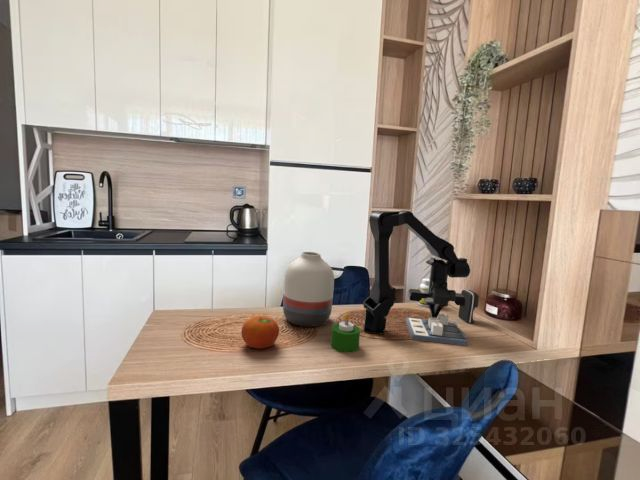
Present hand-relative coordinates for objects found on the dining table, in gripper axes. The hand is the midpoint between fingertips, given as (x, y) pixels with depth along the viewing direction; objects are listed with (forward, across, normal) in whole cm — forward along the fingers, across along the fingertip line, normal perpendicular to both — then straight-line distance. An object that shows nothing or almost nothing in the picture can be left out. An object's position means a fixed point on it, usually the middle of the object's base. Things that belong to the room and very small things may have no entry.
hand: (433, 320), depth 125 cm
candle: (+3, -30, -24) cm, 38 cm away
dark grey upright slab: (+3, +15, +11) cm, 19 cm away
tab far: (+1, +3, 0) cm, 3 cm away
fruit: (+2, -54, -29) cm, 62 cm away
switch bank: (+2, -1, -5) cm, 6 cm away
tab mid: (+1, -1, -5) cm, 5 cm away
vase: (+2, -44, -6) cm, 45 cm away
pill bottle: (+3, +2, +25) cm, 26 cm away
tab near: (+1, -1, -10) cm, 10 cm away
